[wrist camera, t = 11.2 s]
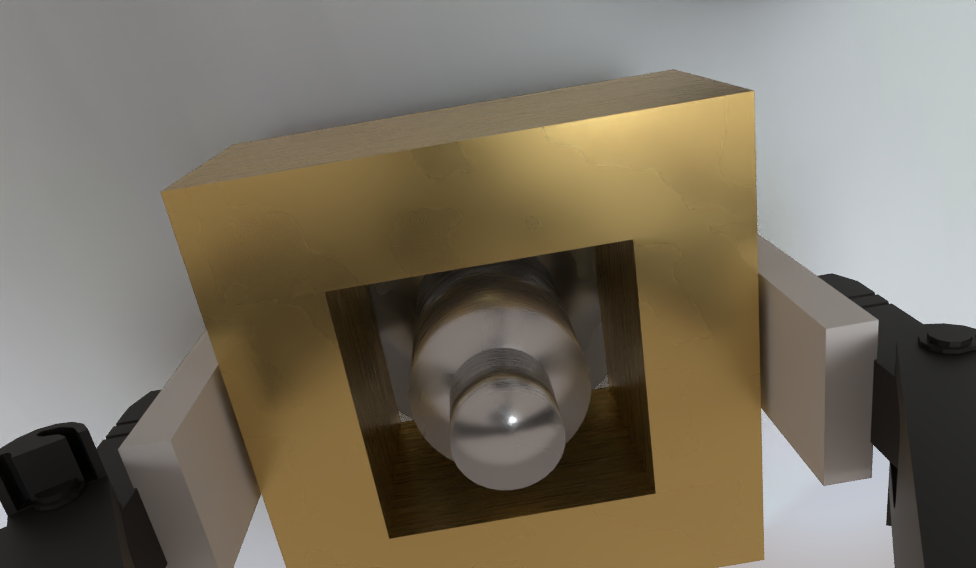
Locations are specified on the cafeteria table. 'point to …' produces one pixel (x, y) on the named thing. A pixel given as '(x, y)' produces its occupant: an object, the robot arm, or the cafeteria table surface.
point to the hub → (496, 360)
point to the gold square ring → (478, 241)
